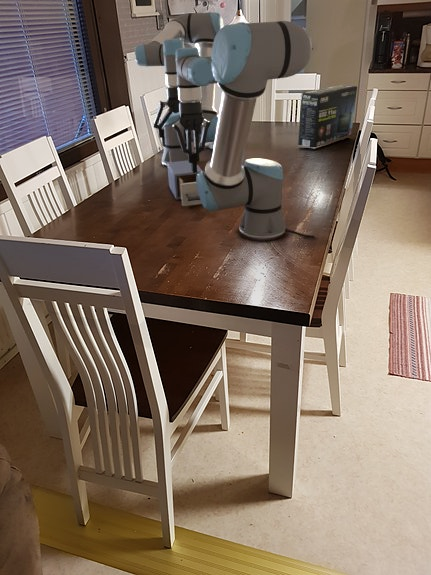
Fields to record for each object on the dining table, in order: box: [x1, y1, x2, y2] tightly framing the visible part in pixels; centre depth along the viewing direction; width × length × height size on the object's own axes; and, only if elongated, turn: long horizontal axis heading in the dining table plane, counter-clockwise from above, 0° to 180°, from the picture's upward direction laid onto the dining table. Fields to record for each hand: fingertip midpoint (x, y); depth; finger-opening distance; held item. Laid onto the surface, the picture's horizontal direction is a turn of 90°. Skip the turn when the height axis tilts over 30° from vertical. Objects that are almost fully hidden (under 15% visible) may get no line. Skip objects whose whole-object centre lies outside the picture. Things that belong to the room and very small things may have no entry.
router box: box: [297, 84, 358, 151], centre depth 238 cm, size 36×11×27 cm, turn 134°
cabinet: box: [166, 160, 204, 200], centre depth 184 cm, size 17×11×10 cm, turn 15°
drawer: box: [177, 174, 202, 207], centre depth 173 cm, size 21×10×8 cm, turn 15°
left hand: (180, 144), depth 181 cm, fingers open, 13 cm apart
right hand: (194, 171), depth 163 cm, fingers closed
